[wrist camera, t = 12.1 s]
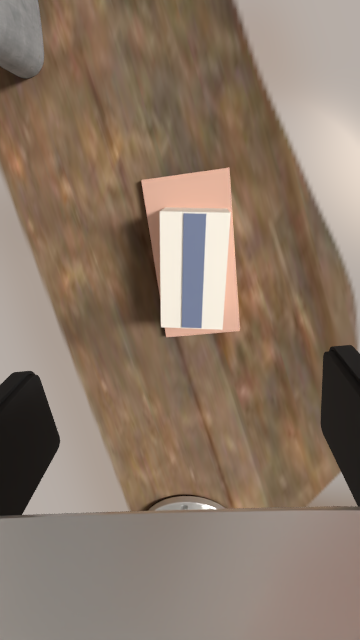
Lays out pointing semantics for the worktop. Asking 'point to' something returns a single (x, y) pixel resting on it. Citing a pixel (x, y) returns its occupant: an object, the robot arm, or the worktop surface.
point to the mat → (194, 193)
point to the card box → (193, 266)
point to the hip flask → (21, 37)
